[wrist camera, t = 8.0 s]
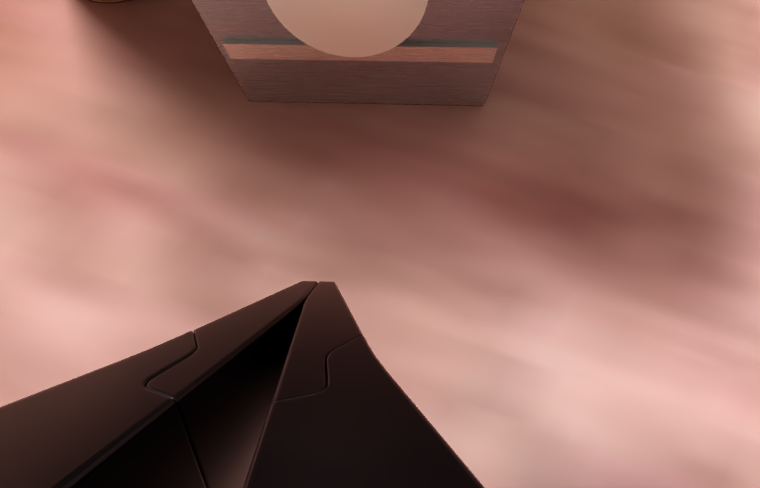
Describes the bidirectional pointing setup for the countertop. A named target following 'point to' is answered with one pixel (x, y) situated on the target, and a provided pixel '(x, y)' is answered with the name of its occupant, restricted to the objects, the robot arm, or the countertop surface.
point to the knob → (350, 23)
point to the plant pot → (107, 0)
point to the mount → (371, 73)
